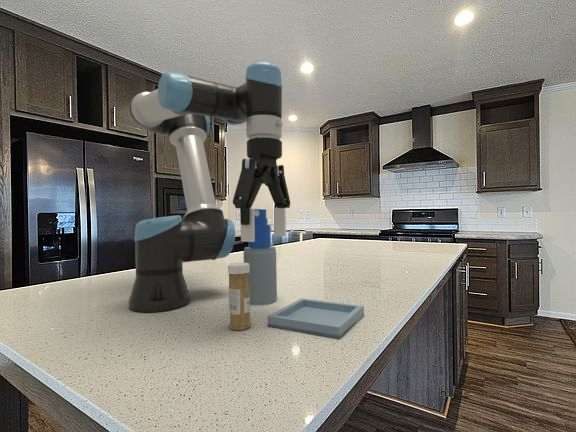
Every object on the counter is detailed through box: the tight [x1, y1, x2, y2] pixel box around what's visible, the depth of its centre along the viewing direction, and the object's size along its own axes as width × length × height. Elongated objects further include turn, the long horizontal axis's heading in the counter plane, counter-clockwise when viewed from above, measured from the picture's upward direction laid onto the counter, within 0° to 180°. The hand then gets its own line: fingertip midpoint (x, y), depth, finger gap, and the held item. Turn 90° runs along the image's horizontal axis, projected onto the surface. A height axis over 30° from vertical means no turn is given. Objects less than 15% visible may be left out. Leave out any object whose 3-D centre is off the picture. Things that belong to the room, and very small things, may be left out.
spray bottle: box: [243, 208, 278, 306], centre depth 92 cm, size 9×9×25 cm
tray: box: [266, 297, 365, 340], centre depth 74 cm, size 16×16×2 cm
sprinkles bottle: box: [227, 261, 251, 331], centre depth 71 cm, size 5×5×14 cm
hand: (265, 238), depth 73 cm, fingers open, 13 cm apart
